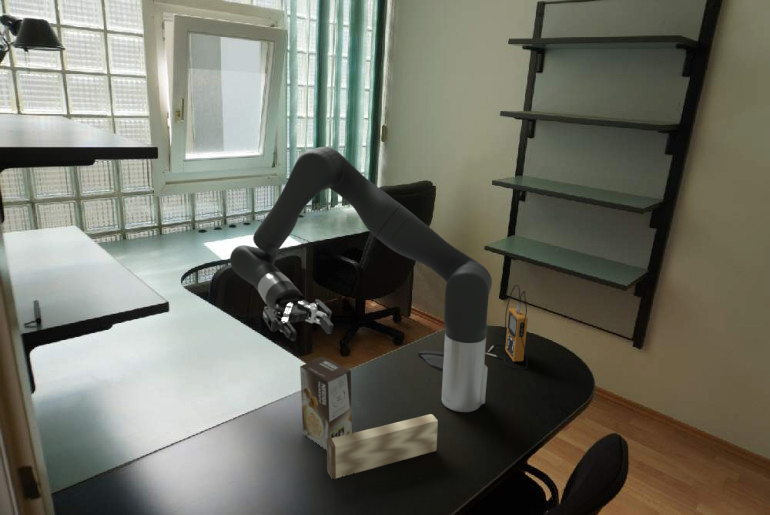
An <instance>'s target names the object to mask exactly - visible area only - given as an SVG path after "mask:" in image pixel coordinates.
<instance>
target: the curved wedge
mask: <svg viewBox="0 0 770 515" xmlns="http://www.w3.org/2000/svg"><path fill="white" fill-rule="evenodd" d="M417 354H418V356H419V358H421V359H423V360H424V361H425V362H426V363H427V364H428V366H429V367H431V368H434V369H436V370H438V371H441V372H443V362H444V351H437V350H420V351H418V352H417Z"/></svg>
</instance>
